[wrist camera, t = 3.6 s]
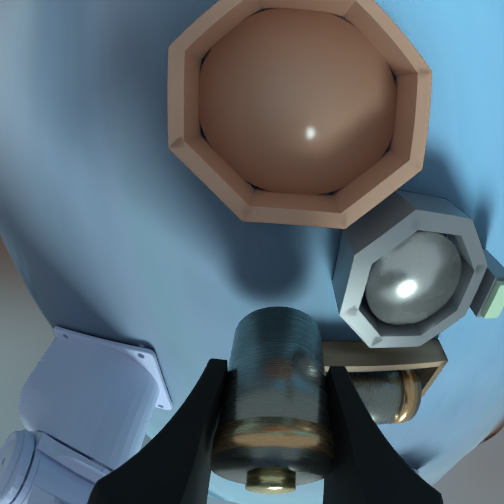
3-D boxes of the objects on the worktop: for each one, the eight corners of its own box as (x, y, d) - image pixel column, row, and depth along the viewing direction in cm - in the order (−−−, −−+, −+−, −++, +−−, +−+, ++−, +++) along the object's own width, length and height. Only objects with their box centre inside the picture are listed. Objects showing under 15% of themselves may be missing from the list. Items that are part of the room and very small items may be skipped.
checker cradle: (324, 314, 15) (331, 361, 12) (349, 183, 12) (371, 211, 9) (457, 315, 14) (478, 352, 12) (498, 210, 11) (534, 238, 8)
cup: (189, 199, 13) (172, 217, 11) (190, 2, 8) (173, -15, 6) (390, 214, 12) (407, 235, 10) (408, 21, 8) (430, 9, 6)
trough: (284, 392, 19) (283, 414, 17) (294, 339, 16) (295, 365, 14) (406, 389, 18) (412, 409, 17) (438, 338, 16) (448, 360, 14)
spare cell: (309, 382, 19) (308, 434, 16) (320, 354, 16) (321, 416, 13) (398, 380, 18) (405, 428, 15) (422, 352, 16) (434, 407, 13)
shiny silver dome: (352, 313, 13) (355, 324, 13) (376, 220, 11) (382, 228, 10) (434, 314, 13) (439, 324, 12) (466, 232, 11) (474, 239, 10)
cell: (234, 363, 14) (212, 494, 8) (232, 302, 12) (197, 465, 6) (314, 367, 14) (320, 499, 8) (328, 307, 12) (352, 471, 6)
